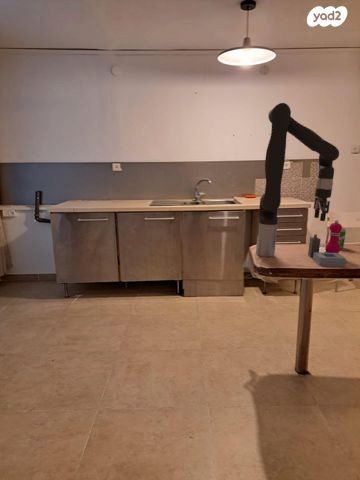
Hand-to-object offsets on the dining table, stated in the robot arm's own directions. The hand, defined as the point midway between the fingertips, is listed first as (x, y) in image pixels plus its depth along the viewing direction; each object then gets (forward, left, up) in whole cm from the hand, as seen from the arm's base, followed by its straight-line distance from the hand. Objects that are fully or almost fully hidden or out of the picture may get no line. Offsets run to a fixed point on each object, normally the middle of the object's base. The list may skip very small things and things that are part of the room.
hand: (319, 219), depth 162 cm
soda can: (+19, +20, -20) cm, 34 cm away
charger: (-1, 0, -20) cm, 20 cm away
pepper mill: (+9, 0, -20) cm, 22 cm away
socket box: (+3, -11, -20) cm, 23 cm away
